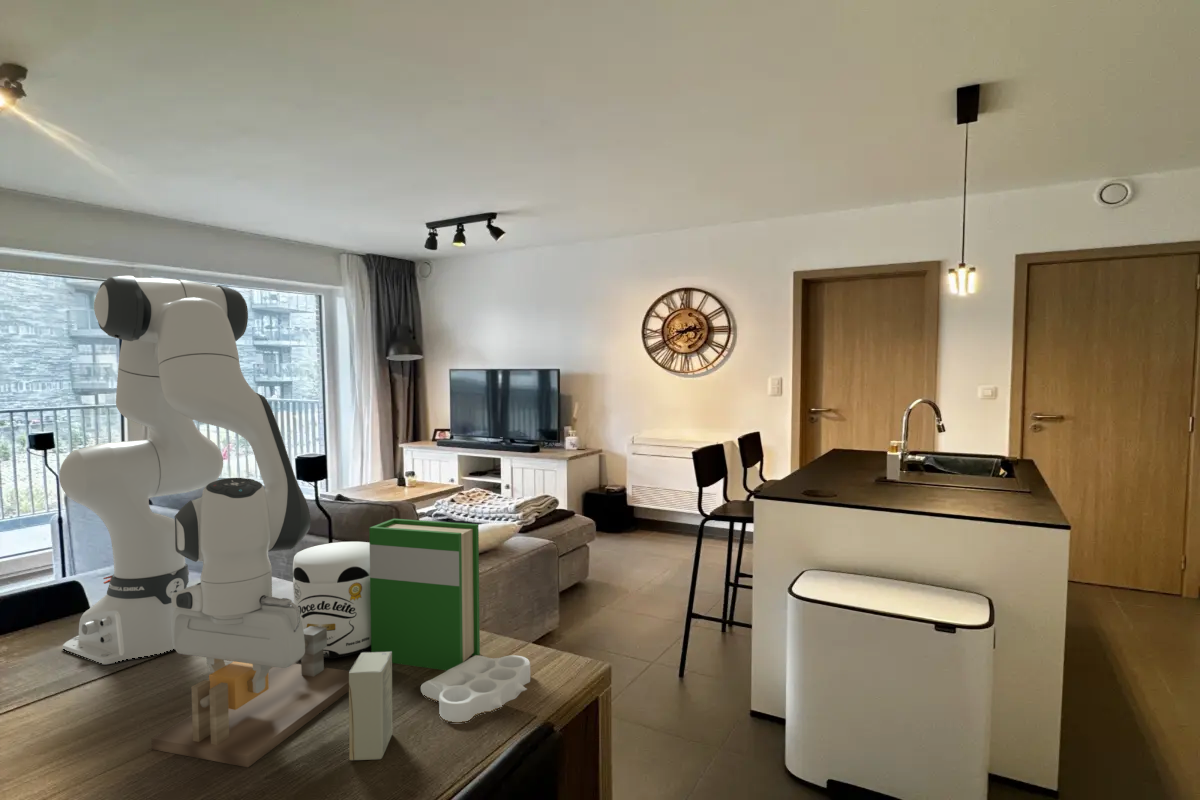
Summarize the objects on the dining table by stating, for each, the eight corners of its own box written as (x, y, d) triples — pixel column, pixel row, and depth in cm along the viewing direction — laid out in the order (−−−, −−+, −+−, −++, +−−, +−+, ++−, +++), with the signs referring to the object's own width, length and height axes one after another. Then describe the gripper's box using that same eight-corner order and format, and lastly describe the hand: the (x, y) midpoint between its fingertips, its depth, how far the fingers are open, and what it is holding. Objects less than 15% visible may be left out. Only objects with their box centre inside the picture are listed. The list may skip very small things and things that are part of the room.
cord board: (151, 749, 87) (149, 684, 87) (281, 670, 110) (280, 619, 110) (248, 767, 83) (246, 699, 82) (361, 681, 106) (361, 628, 106)
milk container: (300, 676, 108) (298, 571, 107) (281, 642, 122) (279, 549, 121) (401, 650, 118) (399, 554, 117) (373, 621, 132) (371, 535, 131)
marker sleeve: (209, 705, 89) (209, 674, 89) (244, 685, 95) (243, 656, 95) (235, 709, 88) (234, 678, 88) (268, 689, 94) (267, 659, 94)
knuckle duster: (484, 662, 114) (550, 684, 106) (404, 707, 99) (474, 736, 91) (484, 644, 114) (550, 664, 106) (404, 686, 98) (473, 713, 91)
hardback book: (479, 654, 116) (478, 524, 115) (460, 672, 109) (458, 534, 108) (395, 643, 121) (393, 518, 120) (371, 660, 114) (369, 527, 113)
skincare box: (362, 735, 90) (360, 651, 90) (394, 733, 91) (392, 650, 90) (348, 762, 84) (346, 672, 83) (382, 760, 84) (381, 670, 84)
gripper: (314, 592, 91) (316, 686, 92) (199, 580, 96) (202, 670, 97) (281, 608, 85) (284, 709, 86) (161, 594, 90) (164, 689, 91)
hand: (239, 688), depth 91 cm, fingers closed on marker sleeve, 4 cm apart
